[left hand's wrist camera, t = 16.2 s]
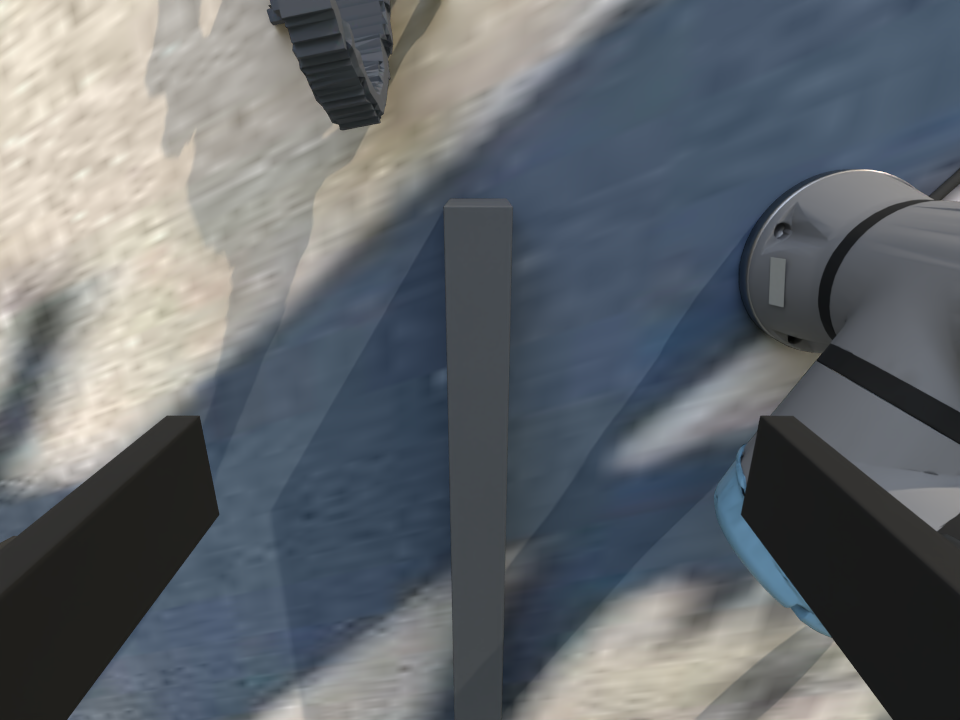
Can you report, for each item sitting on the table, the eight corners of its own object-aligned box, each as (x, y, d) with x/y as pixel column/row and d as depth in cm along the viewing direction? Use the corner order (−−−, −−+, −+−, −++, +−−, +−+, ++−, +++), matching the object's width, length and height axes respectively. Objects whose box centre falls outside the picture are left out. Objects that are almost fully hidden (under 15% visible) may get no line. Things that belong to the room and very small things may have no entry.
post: (449, 198, 44) (443, 206, 37) (506, 198, 44) (512, 206, 37) (459, 730, 66) (456, 806, 59) (497, 730, 66) (499, 806, 59)
